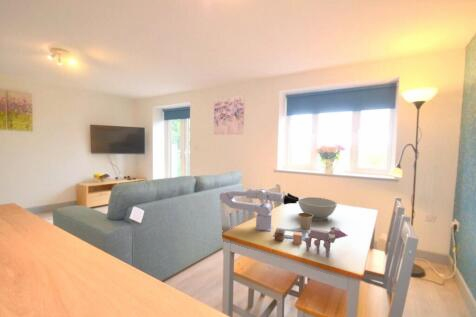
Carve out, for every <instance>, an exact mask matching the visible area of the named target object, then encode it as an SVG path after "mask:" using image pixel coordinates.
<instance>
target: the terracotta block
mask: <svg viewBox="0 0 476 317" xmlns="http://www.w3.org/2000/svg"><path fill="white" fill-rule="evenodd" d="M302 243H303V240H302V233H301V232H294V233H293V239H292V244H294V245H295V244H296V245H302Z"/></svg>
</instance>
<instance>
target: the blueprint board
mask: <svg viewBox="0 0 476 317" xmlns="http://www.w3.org/2000/svg"><path fill="white" fill-rule="evenodd" d="M276 229H278V230H284V239H290V240H293V233H294V232H301V233H302V241H304V242H305V238H306V237H307V231H304V230H299V229H297V230H296V229H289V228H281V227H277V228H276ZM273 237H275V232H274V234H273Z"/></svg>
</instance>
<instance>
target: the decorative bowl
mask: <svg viewBox="0 0 476 317" xmlns="http://www.w3.org/2000/svg"><path fill="white" fill-rule="evenodd" d="M297 203H298V206H299V207H300V210H301V211H302V213H310V214H312V215H313V217H312V220H314V221H324V220H326V218H328V217H330V216H331V215H333V213H334V212H335V210H336V208H337V205H338V204H337V202H336V201H335V200H332V199H329V198H325V197H315V196H307V197H301V198H299V201H297Z"/></svg>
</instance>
